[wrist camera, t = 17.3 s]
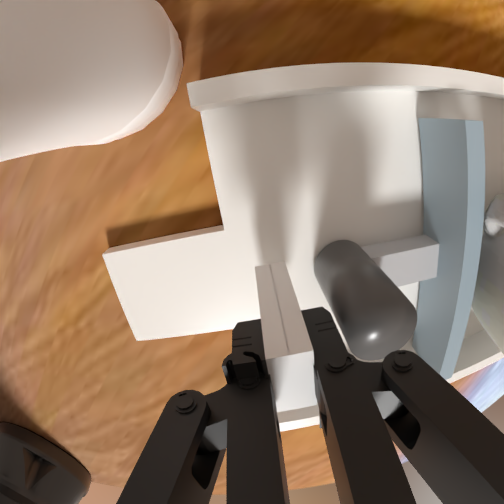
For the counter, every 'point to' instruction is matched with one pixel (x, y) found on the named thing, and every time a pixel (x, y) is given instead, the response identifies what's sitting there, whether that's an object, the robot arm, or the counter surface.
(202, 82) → the tray
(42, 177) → the counter surface
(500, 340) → the teacup
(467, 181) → the blue-grey panel and knob
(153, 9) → the bottle
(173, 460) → the robot arm
